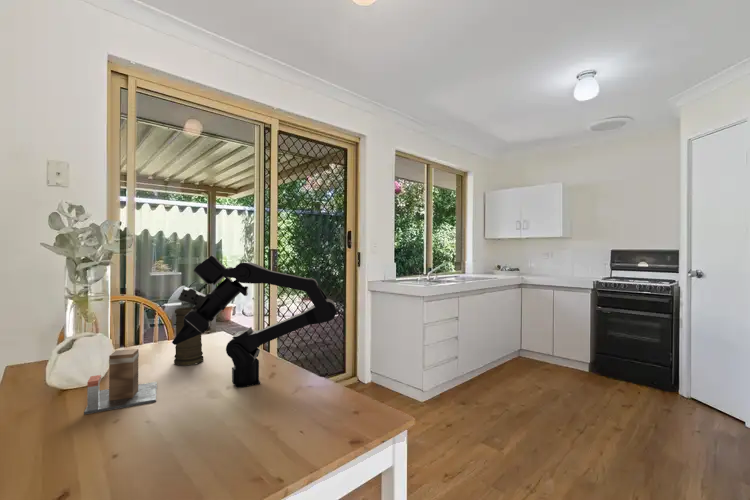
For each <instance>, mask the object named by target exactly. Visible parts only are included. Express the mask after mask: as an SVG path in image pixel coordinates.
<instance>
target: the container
mask: <svg viewBox="0 0 750 500" xmlns="http://www.w3.org/2000/svg"><path fill="white" fill-rule="evenodd" d="M193 307H194V306H187V307H181V308H180V307H179V308H176V309H175V310H174V313H175V318H176V319H175V337H176V336H177V335H178V333H179V332H180V330H181V329H182V328H183V326H184V320H183V319H184V317H185V316H186V315H187V314H188V313H189V312H190V310H191V309H192V308H193ZM193 310H195V309H193ZM174 347H175V354H174V356H173V357H174V360H173V363H174V365H175V366H183V367H184V366H185V367H186V366H193V365H197V364H200V363H202V362H203V361H204V356H203V354H204V352H203V350H202V348H203V343H202V334H199V335H197V336H195V337H192V338H190V339H188V340H185V341H183V342H181V343H178V344H176V345H175V346H174Z"/></svg>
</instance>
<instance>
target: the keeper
mask: <svg viewBox="0 0 750 500" xmlns="http://www.w3.org/2000/svg"><path fill="white" fill-rule="evenodd" d="M101 381H102V374H98V375H92V376H90V377H89V378H88V380H87V385H86V386H87V393H86V395H87V397H86V398H87V401H86V403H87V406H86V408H85V410H84V413H83V415H84V416H85V415H88V414H89V415H90V414H94V413H95V414H96V413H100V412H107V411H111V410H118V409H123V408H129V407H135V406H139V405H145V404H146V405H147V404H151V403H156V402H157V389H158V388H157V387H158V385H157V384H158V383H157V382H158V381H152V382H146V383H138V391H137V393H136V394H135V395H134V397H133V398H126V399H117V400H109V388H106V389H100V383H101Z"/></svg>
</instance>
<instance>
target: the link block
mask: <svg viewBox="0 0 750 500" xmlns="http://www.w3.org/2000/svg"><path fill="white" fill-rule="evenodd" d="M139 355H140V353H139V348H133V349H130V348H129V349H120V350H119V349H118V350H115V351H113V352H112V353H111V354H110V355H109V356H108V357H109V359H108V373H109V374H108V379H109V380H108V382H109V383H108V389H109V400H117V399H126V398H133V397H134V395H135V394H136V393H137V391H138V384H139V358H140V357H139Z"/></svg>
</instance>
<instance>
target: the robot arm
mask: <svg viewBox="0 0 750 500" xmlns="http://www.w3.org/2000/svg"><path fill="white" fill-rule="evenodd" d="M193 273H195V275H196V276H198V277H199V279H201V280H202V281H203V282H204V283H206V285H208V286H211V285H213V286H215V288H214V289H213V290H211V291H209V292H208V293H207V294H204V293H202V292H199V291H198V290H197V289H193V288H192V287H191V288H189V287H183V289H182V290H181V292H180V294H179V297H178V298H177V299H178V300H179V301H180V302H186V303H187V304H191V305H193V306H192V307H193V308H192V309H191V310H190V312H189V313H188V314H187V315H186V316H185V317H184V319H183V320H184V326H183V328H182V329H181V330H180V332H179V333H178V335H177V336H176V335H175V337H174V338H173V340H172V341H171V343H172V344H173V345H175V346H176V344H178V343H181V342H183V341H185V340H188V339H190V338H192V337H195V336H197V335H199V334H201V335H202V334H204V333H205V332H206V331H207V330H208V329H209V328H210V326H211V322H212V321H214V319H215V318H216V317H217V315H219V314H220V313H221V312H222V311H224V310H225V309H226V307H227V306H228V305H229V304H230V303H231V302H232V301H234V299H236V297H238V296H239V294H242V295H243V296H245V297H246V296H248V289H249V286H247V285H246V286H244V285H242V284H254V285H255V284H266V285H273V286H277V287H283V288H287V289H290V290H291V289H292V290H297V291H300V292H301V291H302V292H306V295H308V298H309V300H310V301H311V302H312V304H313V305H311V307H309V308H308V309H306V310H305V311H303V312H301V313H298V314H296V315H293V316H291V317H288V318H286V319H284V320H281V321H279V322H276V323H274V324H272V325H269V326H266V327H264V328H261V329H259V330H253V328H252V326H250V327H248V328H247V329H245V330H242V331H238V332H237V333H235V334H234V335H233V336H232V339H230V340H229V341H228V342H227V344H226V347H225V352H226V354H227V356H228V357H229V358H230V359H231V361H232V363H233V366H232V367H231V382H232V384H233V385H234V386H235V388H236V389H239V388H240V389H241V388H245V387H246V388H247V387H251V386H256V385H261V380H260V360H259V359H258V357H259V355H260V352H261V349H260V348H259V347H261V346H262V345H264V344H266V343H268V342H271V341H274V340H276V339H278V338H281V337H284V336H285V335H288V334H290V333H293V332H295V331H298V330H300V329H302V328H304V327H306V326H307V327H308V326H311V325H319V324H323V323H328V322H330V321H333V319H334V318H335V317H336V315H337V304H336V303H335V302H334V301H333V300H332V299H329V298H328V296H327V295H326V294H325V292H324V291H323V289H322V288H321V286H320V285H319V283H318V281H317V280H316V279H315V278H312V277H310V278H308V277H304V276H299V275H294V274H289V273H284V272H279V271H274V270H271V269H268V268H266V267H263V266H262V265H259V264H257V263H255V262H251V261H246V262H245V261H243V262H239V263H238V264H237V265H236V266H235V267H232V266H230V267H226V266H225V265H224V264H223V263H222V262H221V261H220V260H219V259H218V257H217V256H215V255H211V256H209V257H208V258H207V259H205V260H203V261H202V262H200V263H198V265H197V266H195V268H194V270H193ZM231 278H232V279H235V280H232V279H231ZM193 309H195V310H193Z"/></svg>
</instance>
